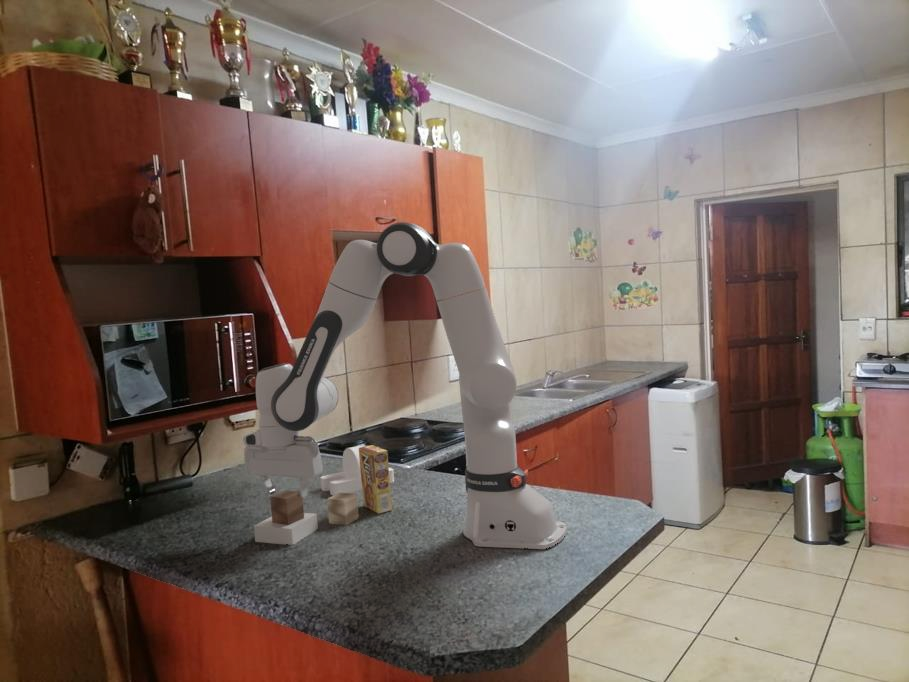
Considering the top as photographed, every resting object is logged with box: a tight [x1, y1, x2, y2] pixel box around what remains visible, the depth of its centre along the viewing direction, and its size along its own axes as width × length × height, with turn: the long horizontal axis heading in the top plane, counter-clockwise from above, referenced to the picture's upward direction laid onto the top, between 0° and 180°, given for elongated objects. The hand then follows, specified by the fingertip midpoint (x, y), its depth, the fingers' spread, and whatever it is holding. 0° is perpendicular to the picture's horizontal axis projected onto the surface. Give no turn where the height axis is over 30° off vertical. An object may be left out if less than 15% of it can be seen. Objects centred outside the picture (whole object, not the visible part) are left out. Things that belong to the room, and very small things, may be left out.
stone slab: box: [253, 512, 319, 546], centre depth 148 cm, size 10×10×4 cm
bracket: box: [320, 445, 395, 496], centre depth 185 cm, size 19×10×11 cm, turn 126°
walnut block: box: [269, 490, 305, 525], centre depth 148 cm, size 5×5×6 cm
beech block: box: [326, 493, 359, 526], centre depth 156 cm, size 5×5×6 cm
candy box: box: [359, 444, 393, 514], centre depth 163 cm, size 9×4×15 cm, turn 33°
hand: (286, 495), depth 148 cm, fingers open, 8 cm apart
